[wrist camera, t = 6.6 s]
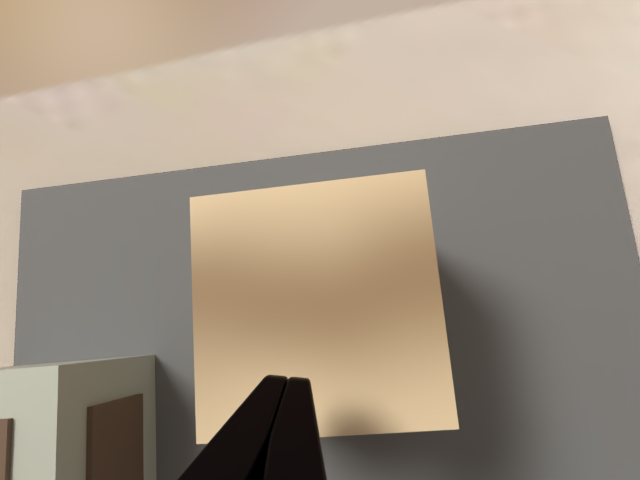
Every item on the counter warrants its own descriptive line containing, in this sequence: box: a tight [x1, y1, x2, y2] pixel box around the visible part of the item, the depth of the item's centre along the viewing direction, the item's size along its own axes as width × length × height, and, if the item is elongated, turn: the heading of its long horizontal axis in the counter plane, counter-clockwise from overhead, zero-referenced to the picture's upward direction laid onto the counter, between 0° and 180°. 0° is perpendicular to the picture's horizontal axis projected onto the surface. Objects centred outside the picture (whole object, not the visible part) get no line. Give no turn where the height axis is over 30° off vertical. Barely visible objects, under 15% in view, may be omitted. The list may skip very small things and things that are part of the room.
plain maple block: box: [190, 169, 459, 444], centre depth 15 cm, size 6×6×8 cm
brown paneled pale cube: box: [0, 355, 156, 480], centre depth 16 cm, size 6×6×6 cm
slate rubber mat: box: [14, 116, 640, 480], centre depth 18 cm, size 24×26×1 cm
